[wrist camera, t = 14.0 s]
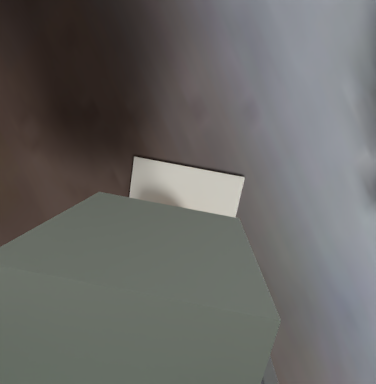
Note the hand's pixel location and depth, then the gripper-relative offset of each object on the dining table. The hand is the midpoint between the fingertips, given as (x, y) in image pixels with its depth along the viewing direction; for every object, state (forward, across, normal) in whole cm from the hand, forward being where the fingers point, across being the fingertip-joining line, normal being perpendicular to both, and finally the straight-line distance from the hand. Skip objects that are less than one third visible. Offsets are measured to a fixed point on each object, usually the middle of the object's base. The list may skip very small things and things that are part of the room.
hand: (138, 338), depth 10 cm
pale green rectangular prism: (+3, 0, 0) cm, 3 cm away
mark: (+14, 0, 0) cm, 14 cm away
